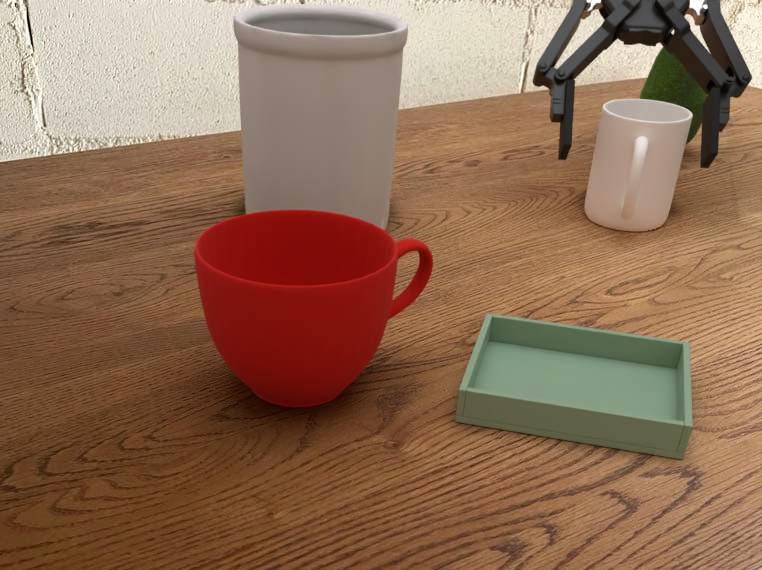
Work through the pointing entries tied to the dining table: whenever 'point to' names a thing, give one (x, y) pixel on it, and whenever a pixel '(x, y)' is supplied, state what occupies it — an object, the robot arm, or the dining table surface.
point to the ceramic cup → (301, 298)
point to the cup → (636, 163)
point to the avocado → (675, 88)
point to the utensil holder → (319, 108)
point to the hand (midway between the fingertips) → (636, 157)
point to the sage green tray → (579, 385)
